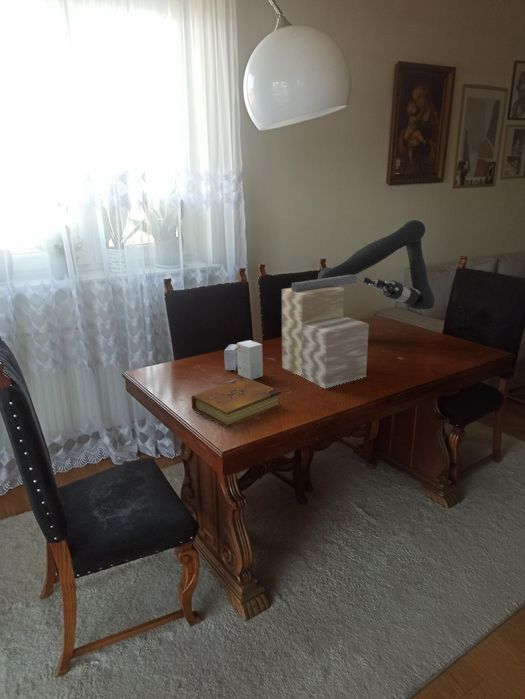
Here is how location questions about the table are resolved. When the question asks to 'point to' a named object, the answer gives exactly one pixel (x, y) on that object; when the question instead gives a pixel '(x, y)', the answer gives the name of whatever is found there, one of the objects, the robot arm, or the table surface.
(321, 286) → the bar
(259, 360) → the small box
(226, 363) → the medicine box
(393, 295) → the robot arm
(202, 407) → the diary
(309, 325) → the stand
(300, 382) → the table surface
